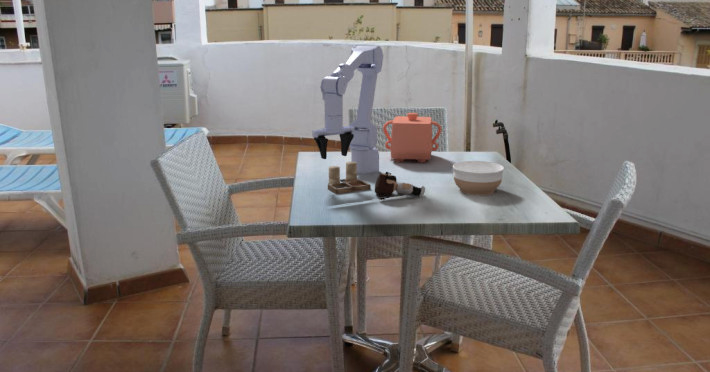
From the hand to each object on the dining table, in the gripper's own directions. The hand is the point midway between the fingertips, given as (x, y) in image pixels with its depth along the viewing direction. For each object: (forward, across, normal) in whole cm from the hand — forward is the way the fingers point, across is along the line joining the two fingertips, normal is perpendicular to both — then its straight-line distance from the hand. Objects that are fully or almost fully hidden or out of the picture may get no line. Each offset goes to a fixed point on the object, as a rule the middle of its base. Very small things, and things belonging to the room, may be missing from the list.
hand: (334, 157), depth 194 cm
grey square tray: (+10, -6, +1) cm, 12 cm away
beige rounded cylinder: (+10, 0, 0) cm, 10 cm away
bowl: (+10, -36, +28) cm, 47 cm away
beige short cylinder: (+9, -6, +1) cm, 11 cm away
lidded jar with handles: (+10, -49, -21) cm, 54 cm away
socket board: (+10, -1, +7) cm, 12 cm away
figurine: (+10, -10, +21) cm, 26 cm away
